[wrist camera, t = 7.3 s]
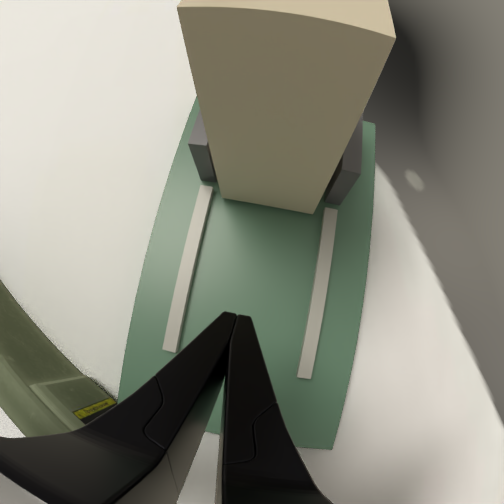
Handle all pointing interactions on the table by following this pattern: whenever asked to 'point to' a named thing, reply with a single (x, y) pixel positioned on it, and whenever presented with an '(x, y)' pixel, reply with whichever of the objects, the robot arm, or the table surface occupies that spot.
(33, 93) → the table surface
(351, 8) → the plug
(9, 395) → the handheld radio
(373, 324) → the table surface
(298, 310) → the board
